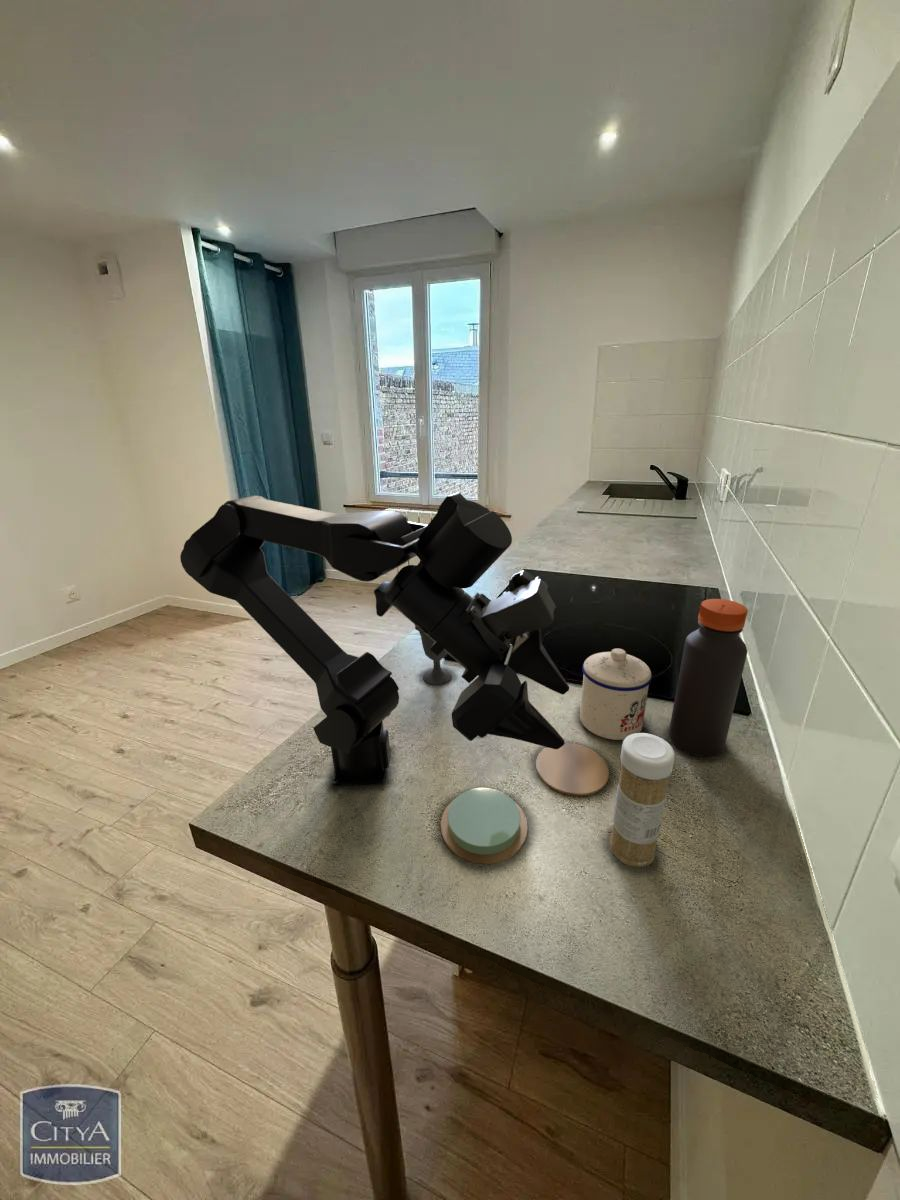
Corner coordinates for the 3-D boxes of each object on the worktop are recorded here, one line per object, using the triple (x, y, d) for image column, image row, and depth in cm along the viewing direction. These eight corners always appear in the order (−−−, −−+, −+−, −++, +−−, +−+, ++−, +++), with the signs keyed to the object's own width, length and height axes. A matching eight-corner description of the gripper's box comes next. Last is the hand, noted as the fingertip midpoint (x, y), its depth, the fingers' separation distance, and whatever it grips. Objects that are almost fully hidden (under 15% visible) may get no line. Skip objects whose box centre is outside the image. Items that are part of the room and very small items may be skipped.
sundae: (413, 670, 83) (408, 591, 77) (450, 664, 85) (447, 586, 79) (423, 690, 77) (417, 607, 71) (461, 683, 79) (459, 600, 73)
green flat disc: (448, 856, 49) (448, 848, 48) (446, 796, 56) (446, 789, 55) (526, 852, 49) (526, 844, 48) (514, 793, 56) (514, 785, 56)
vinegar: (729, 762, 60) (765, 620, 52) (671, 753, 62) (698, 615, 54) (717, 729, 66) (747, 597, 58) (665, 722, 68) (687, 593, 60)
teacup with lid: (630, 751, 62) (641, 676, 58) (567, 725, 68) (572, 654, 63) (658, 708, 71) (670, 639, 66) (600, 688, 76) (607, 623, 72)
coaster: (544, 797, 56) (544, 795, 56) (529, 746, 64) (529, 744, 64) (619, 793, 56) (619, 791, 56) (595, 743, 64) (595, 741, 64)
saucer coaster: (441, 866, 48) (441, 864, 48) (440, 793, 57) (440, 792, 57) (535, 861, 48) (535, 859, 48) (519, 790, 57) (519, 788, 57)
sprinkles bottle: (638, 827, 52) (655, 727, 46) (664, 864, 47) (686, 758, 42) (600, 836, 51) (613, 735, 45) (623, 874, 47) (641, 768, 41)
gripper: (476, 592, 34) (634, 730, 35) (514, 531, 51) (621, 626, 52) (393, 680, 39) (532, 800, 40) (452, 599, 56) (550, 685, 57)
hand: (564, 716), depth 47 cm, fingers open, 9 cm apart
